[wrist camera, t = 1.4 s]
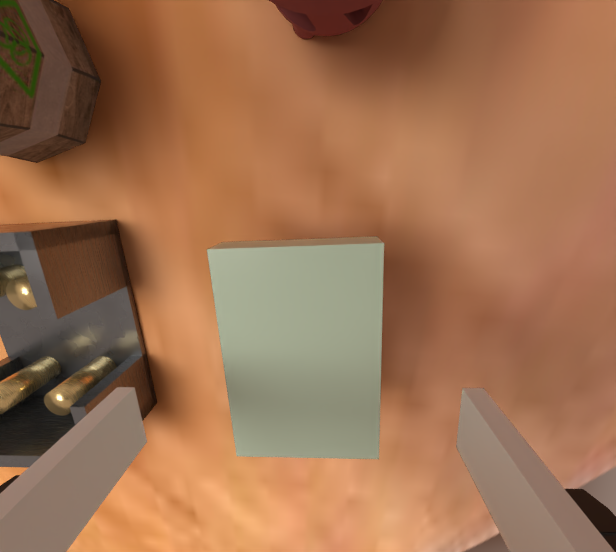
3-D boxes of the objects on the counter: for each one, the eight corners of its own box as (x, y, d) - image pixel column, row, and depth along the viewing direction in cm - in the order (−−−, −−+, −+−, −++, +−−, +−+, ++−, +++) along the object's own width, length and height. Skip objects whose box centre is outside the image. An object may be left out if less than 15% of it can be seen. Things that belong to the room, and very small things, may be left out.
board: (221, 242, 15) (206, 249, 14) (376, 236, 15) (384, 243, 13) (246, 429, 19) (236, 456, 17) (373, 430, 18) (378, 459, 16)
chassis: (-32, 226, 23) (-169, 239, 16) (116, 219, 22) (30, 231, 15) (31, 401, 27) (-57, 465, 21) (157, 402, 26) (103, 469, 20)
